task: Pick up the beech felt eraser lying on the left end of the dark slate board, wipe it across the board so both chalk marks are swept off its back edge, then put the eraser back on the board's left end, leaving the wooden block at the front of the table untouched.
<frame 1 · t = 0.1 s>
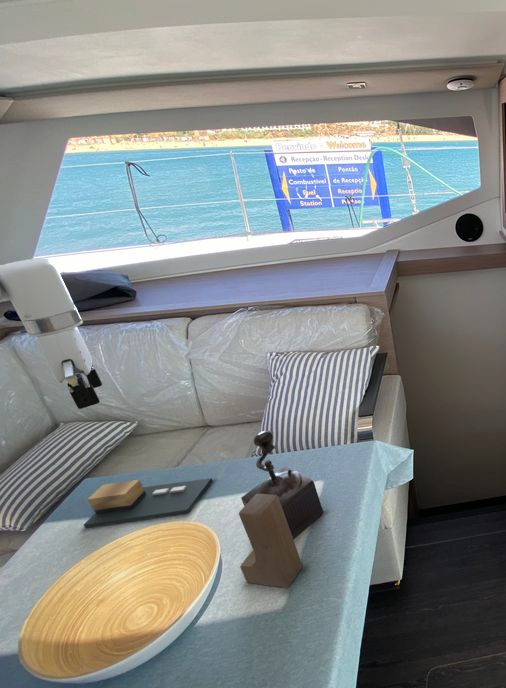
hand: (91, 396, 87), 30 cm above the table, tool pointing down, fingers open, 9 cm apart
manual coffee grinder: (284, 516, 92), on the table
chalk mark b: (178, 490, 100), point 1 cm above the table, touching slate board
chalk mark a: (161, 492, 100), point 1 cm above the table, touching slate board
eraser: (121, 504, 97), point 1 cm above the table, touching slate board
slate board: (152, 503, 98), on the table
wooden block: (275, 575, 79), on the table
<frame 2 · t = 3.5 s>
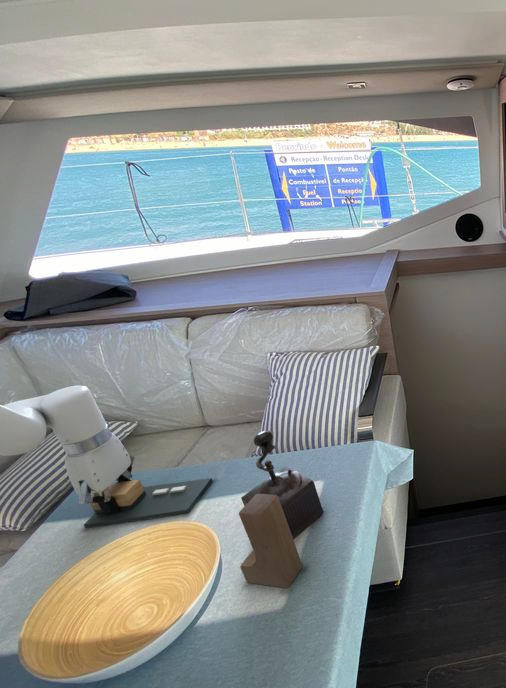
hand: (121, 502, 97), 1 cm above the table, tool pointing down, fingers closed on eraser, 4 cm apart
eraser: (121, 504, 97), point 1 cm above the table, touching gripper, slate board
everything else where it was.
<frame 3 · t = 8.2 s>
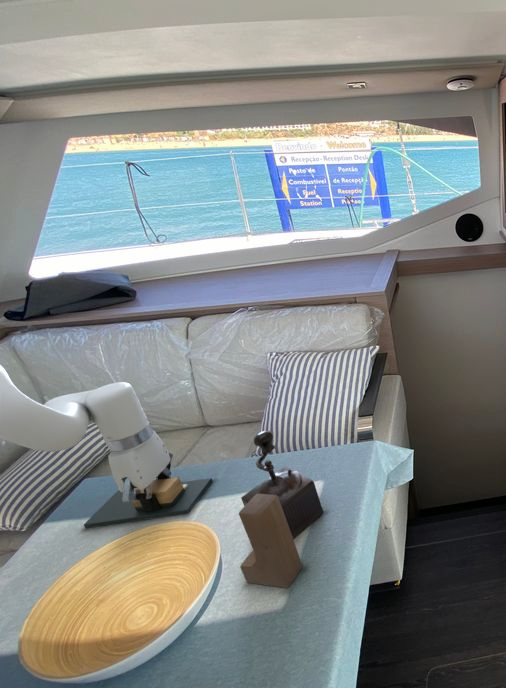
hand: (160, 500, 97), 1 cm above the table, tool pointing down, fingers closed on eraser, 4 cm apart
chalk mark b: (180, 488, 101), point 1 cm above the table, touching gripper
chalk mark a: (163, 490, 100), point 1 cm above the table, touching gripper, slate board
eraser: (161, 501, 97), point 1 cm above the table, touching gripper
everything else where it was.
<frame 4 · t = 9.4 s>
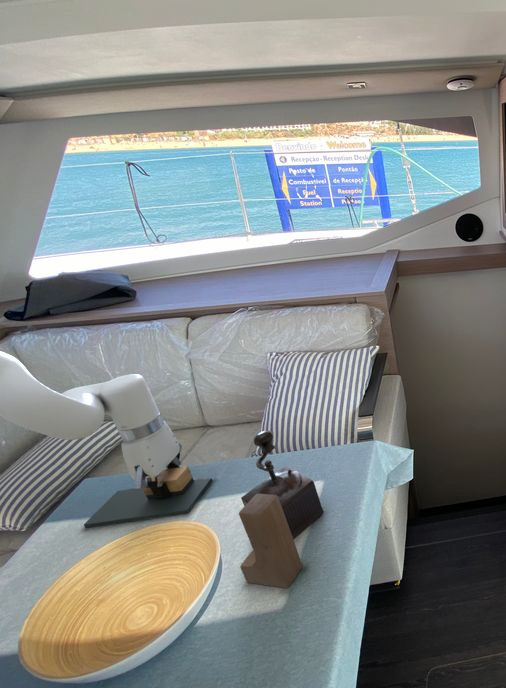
hand: (170, 488, 100), 1 cm above the table, tool pointing down, fingers closed on eraser, 4 cm apart
chalk mark b: (187, 482, 103), point 1 cm above the table, tilted 90°
chalk mark a: (170, 484, 103), point 1 cm above the table, tilted 96°, touching gripper
eraser: (171, 489, 100), point 1 cm above the table, touching gripper
everything else where it was.
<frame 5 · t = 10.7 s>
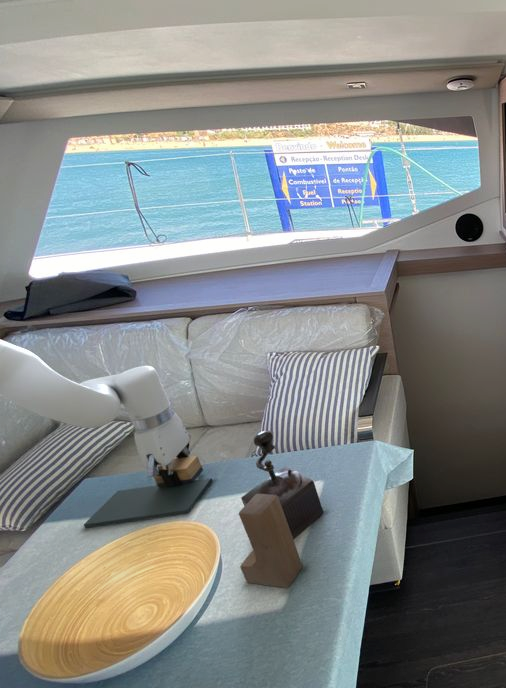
hand: (180, 477, 104), 1 cm above the table, tool pointing down, fingers closed on eraser, 4 cm apart
chalk mark b: (190, 479, 104), on the table, tilted 180°
chalk mark a: (173, 481, 104), point 1 cm above the table, tilted 180°
eraser: (181, 478, 104), point 1 cm above the table, touching gripper
everything else where it was.
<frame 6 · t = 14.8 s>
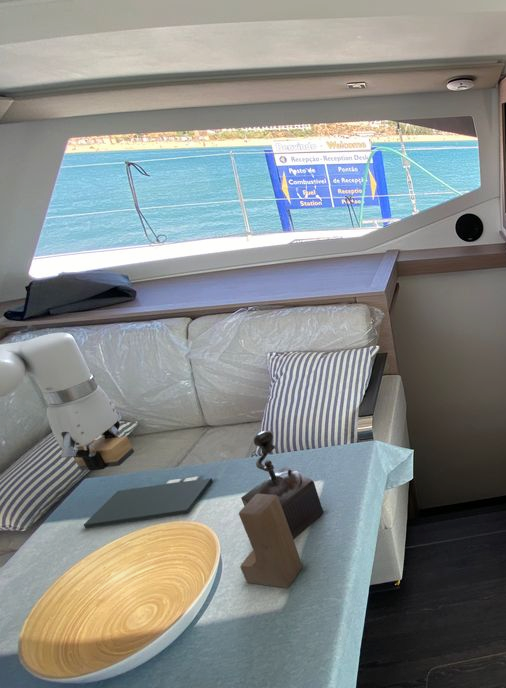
hand: (107, 459, 93), 14 cm above the table, tool pointing down, fingers closed on eraser, 4 cm apart
eraser: (108, 461, 93), point 13 cm above the table, touching gripper
everything else where it was.
when the fingers open (1 cm above the table, at t = 18.0 s): eraser stays where it is, resting on slate board.
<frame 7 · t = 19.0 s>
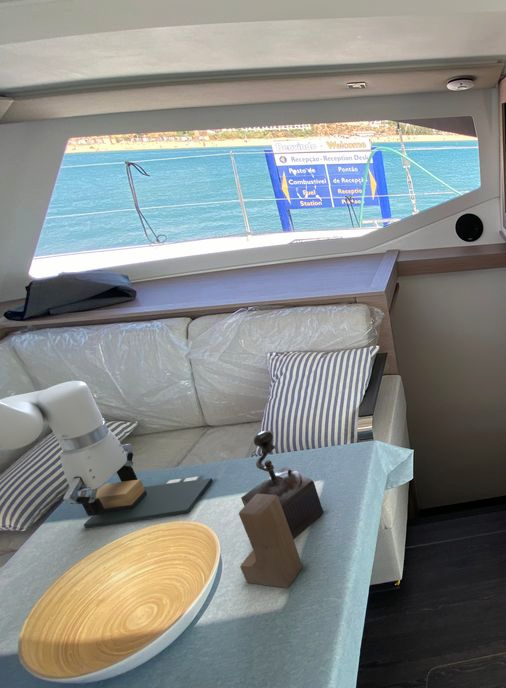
hand: (114, 497, 96), 3 cm above the table, tool pointing down, fingers open, 9 cm apart
eraser: (122, 503, 97), point 1 cm above the table, touching slate board
everything else where it was.
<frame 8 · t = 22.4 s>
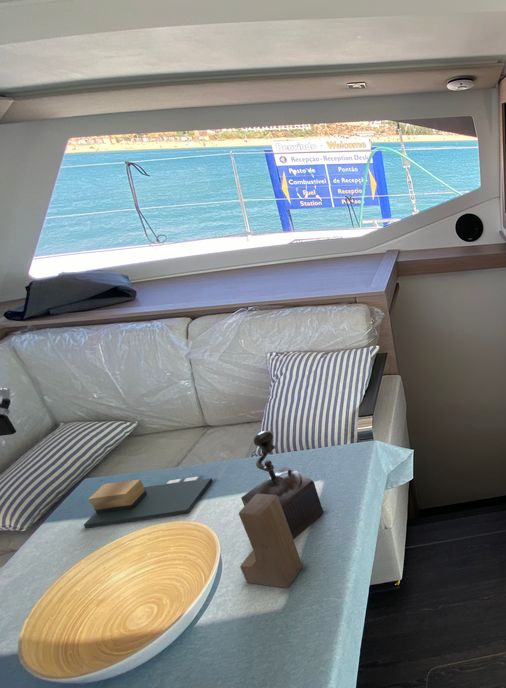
nothing on the table moved.
at the end: chalk mark a point 0.6 cm above the table; chalk mark b point 0.5 cm above the table; eraser 0.1 cm from the target spot on the slate board, point 1.0 cm above the slate board's base; wooden block moved 0.2 cm from its start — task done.
